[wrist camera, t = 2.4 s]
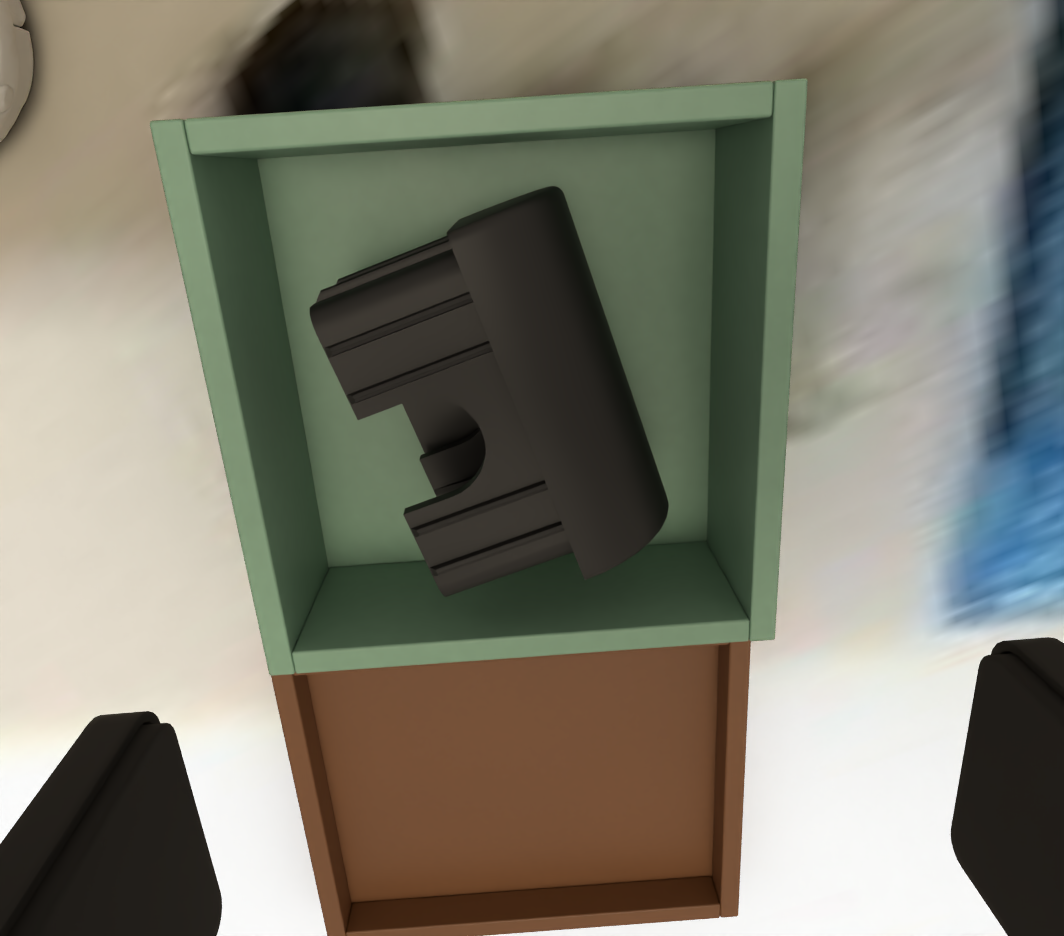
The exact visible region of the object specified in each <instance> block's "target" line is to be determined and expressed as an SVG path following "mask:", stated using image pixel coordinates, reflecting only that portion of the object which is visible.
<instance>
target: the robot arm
mask: <svg viewBox="0 0 1064 936" xmlns="http://www.w3.org/2000/svg"><path fill="white" fill-rule="evenodd" d="M951 840H952V845H953V849H954V852H955V855H956V857H957V860H958V861H959V863H960V865H961V867H962V868H963V870H964V871H965V873H966V874H967V876H968V877H969V879H970V880H971V882H972V883H973V885H974V886H975V888H976V889H977V890H978V892H979V893H980V895H981V896H982V898H983V899H984V901H985V902H986V904H987V905H988V907H989V908H990V910H991V911H992V913H993V914H994V916H995V917H996V919H997V920H998V922H999V923H1000V925H1001V926H1002V927H1003V929H1004V930H1005V932H1006V933H1007V935H1008V936H1064V643H1062V642H1061V641H1059V640H1058V639H1055V638H1049V637H1047V638H1035V639H1023V640H1011V641H1002V642H1000V643H997V644H996V646H995V647H994V648H993V650H992V653H991V655H988V656H985V657H984V658H983V659H982V660H981V662H980V665H979V669H978V675H977V681H976V686H975V692H974V698H973V704H972V710H971V716H970V721H969V727H968V733H967V739H966V745H965V750H964V756H963V762H962V768H961V774H960V779H959V785H958V791H957V797H956V803H955V809H954V814H953V820H952V826H951ZM221 912H222V898H221V893H220V889H219V885H218V882H217V878H216V875H215V871H214V868H213V864H212V861H211V857H210V853H209V850H208V846H207V843H206V839H205V836H204V832H203V829H202V825H201V821H200V818H199V814H198V811H197V807H196V804H195V800H194V797H193V793H192V789H191V786H190V782H189V779H188V775H187V772H186V768H185V765H184V761H183V757H182V754H181V750H180V747H179V743H178V740H177V736H176V733H175V730H174V728H173V727H172V726H171V724H168V723H160V721H159V719H158V717H157V716H156V715H155V714H154V713H153V712H149V711H146V712H133V713H121V714H109V715H100V716H97V717H95V718H94V719H93V720H92V721H91V722H90V723H89V724H88V725H87V726H86V728H85V729H84V730H83V732H82V733H81V735H80V736H79V737H78V739H77V740H76V741H75V743H74V744H73V745H72V747H71V748H70V750H69V751H68V752H67V754H66V755H65V756H64V758H63V759H62V761H61V762H60V763H59V765H58V766H57V767H56V769H55V770H54V771H53V773H52V774H51V776H50V777H49V778H48V780H47V781H46V782H45V784H44V785H43V786H42V788H41V789H40V791H39V792H38V793H37V795H36V796H35V797H34V799H33V800H32V802H31V803H30V804H29V806H28V807H27V808H26V810H25V811H24V812H23V814H22V815H21V817H20V818H19V819H18V821H17V822H16V823H15V825H14V826H13V828H12V829H11V830H10V832H9V833H8V834H7V836H6V837H5V838H4V840H3V841H2V843H1V844H0V936H216V935H217V932H218V929H219V925H220V920H221Z"/></svg>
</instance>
